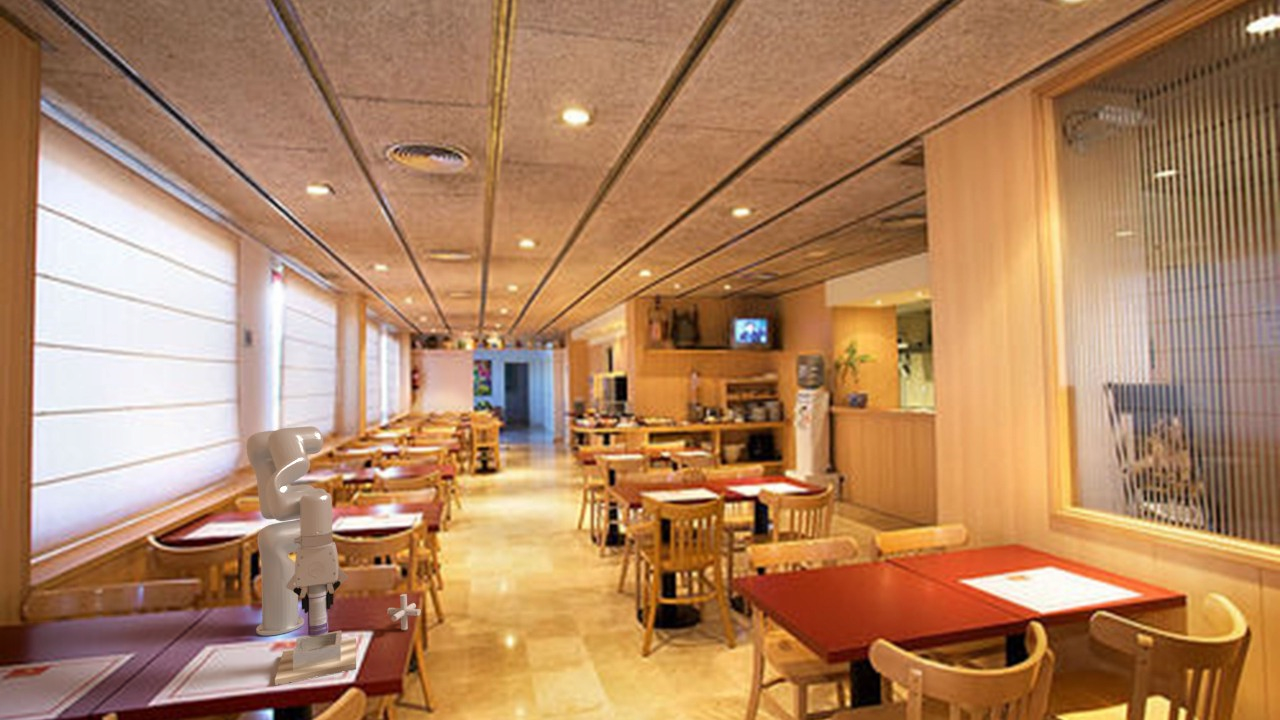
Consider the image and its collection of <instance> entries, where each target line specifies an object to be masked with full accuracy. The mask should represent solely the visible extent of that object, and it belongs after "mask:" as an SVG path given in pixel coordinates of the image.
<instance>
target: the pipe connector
mask: <svg viewBox="0 0 1280 720" xmlns="http://www.w3.org/2000/svg"><path fill="white" fill-rule="evenodd" d="M399 597H400V598H399V600H400V602H399V603H400V607H388V608H387V609H386V610H387V611H386V613H387V615H392V616H391V617H390V618H391V621H392V622H397V621H399V620H400V630H401V631H406V630H408V627H409V626H408V616H413V617H414V616H417V617H418V616H420V615H421V612H422V611H421V609H420V608H416V607H417V605H416V603H414V602H412V603H410V604H408V594H407V593H402V594H400V595H399Z"/></svg>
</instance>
